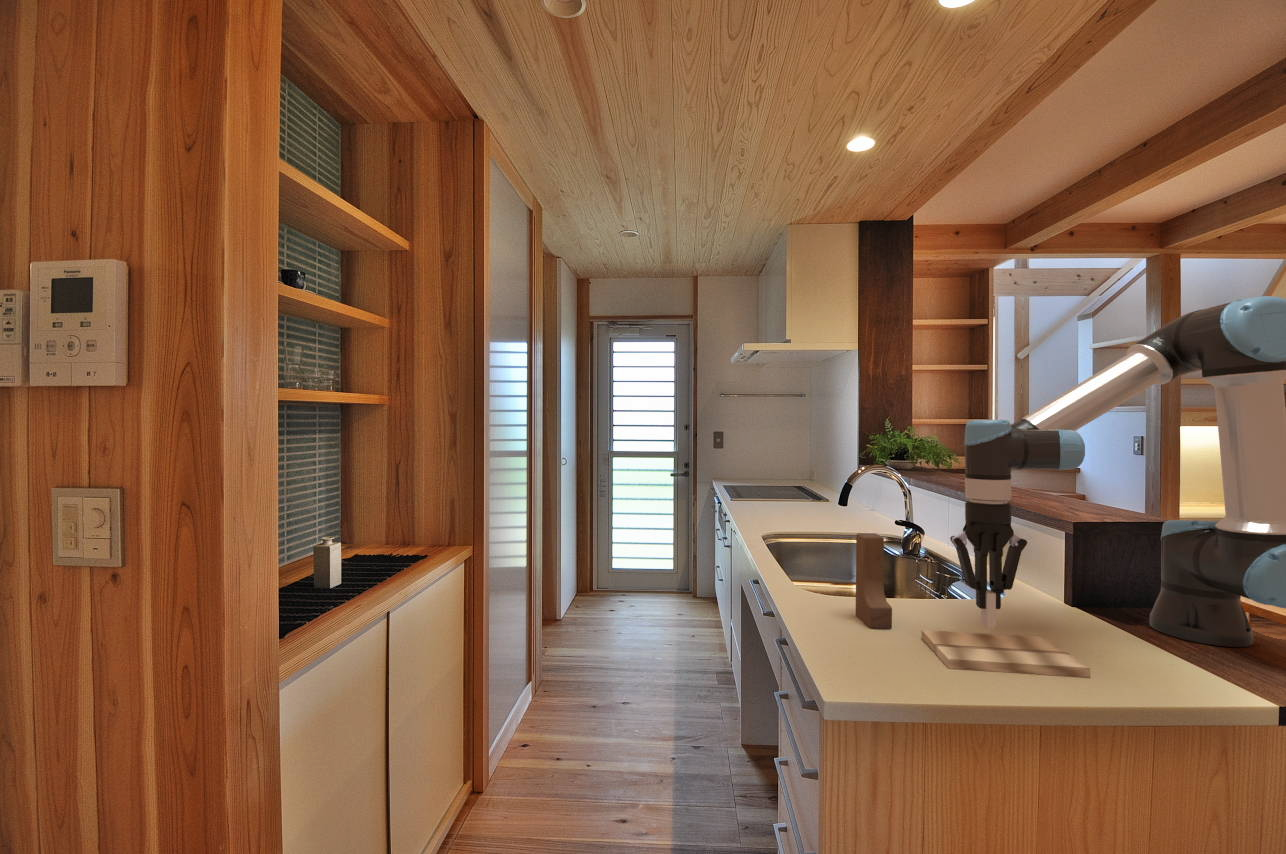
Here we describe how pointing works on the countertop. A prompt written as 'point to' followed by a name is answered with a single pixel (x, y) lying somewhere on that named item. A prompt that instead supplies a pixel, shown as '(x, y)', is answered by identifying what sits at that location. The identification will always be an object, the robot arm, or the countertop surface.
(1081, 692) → the countertop surface
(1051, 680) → the countertop surface
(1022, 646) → the board
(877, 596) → the wooden block
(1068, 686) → the countertop surface
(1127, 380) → the robot arm
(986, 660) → the laid board
